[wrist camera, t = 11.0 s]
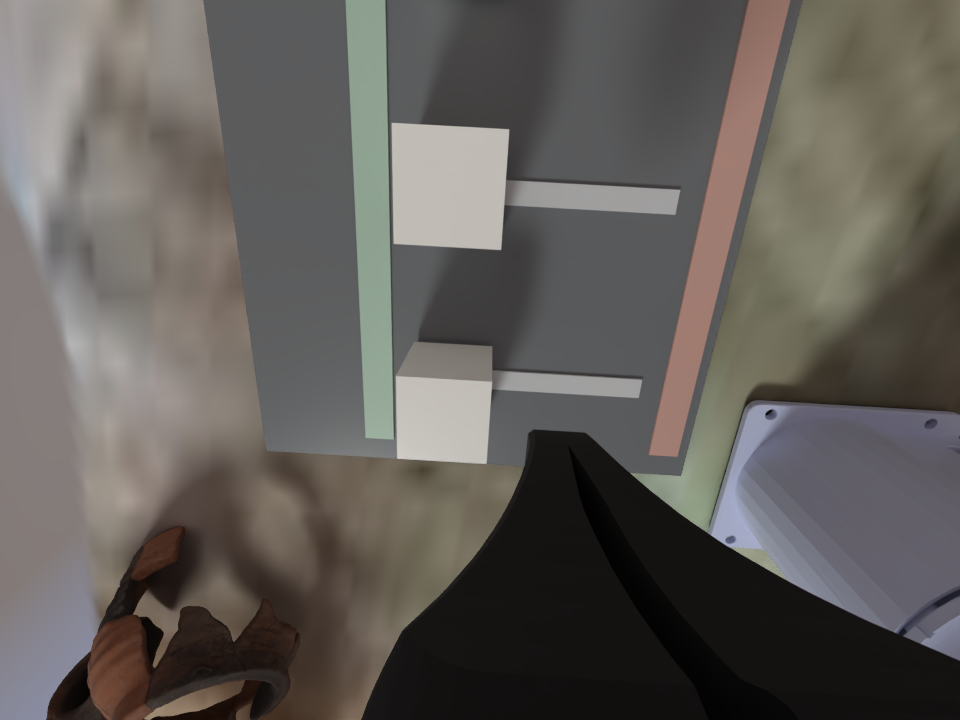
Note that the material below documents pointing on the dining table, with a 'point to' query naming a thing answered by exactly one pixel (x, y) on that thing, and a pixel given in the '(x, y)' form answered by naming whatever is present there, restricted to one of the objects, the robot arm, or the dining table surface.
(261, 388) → the panel
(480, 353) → the block
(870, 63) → the dining table surface
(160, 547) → the pottery mug
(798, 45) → the dining table surface
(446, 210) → the block
